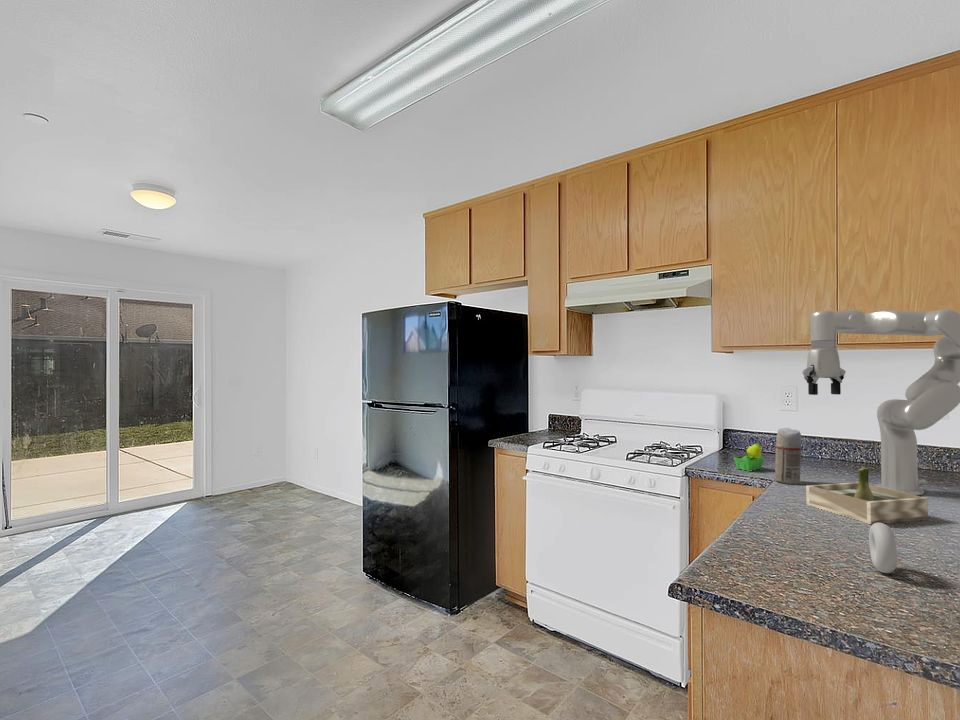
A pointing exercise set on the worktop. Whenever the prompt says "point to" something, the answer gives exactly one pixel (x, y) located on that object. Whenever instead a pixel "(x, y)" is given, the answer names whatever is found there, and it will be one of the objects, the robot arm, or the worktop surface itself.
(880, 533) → the donut
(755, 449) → the fruit basket
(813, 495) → the open wooden box
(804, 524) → the worktop surface
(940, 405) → the robot arm
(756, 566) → the worktop surface
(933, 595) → the worktop surface
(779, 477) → the spray can
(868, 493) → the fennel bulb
